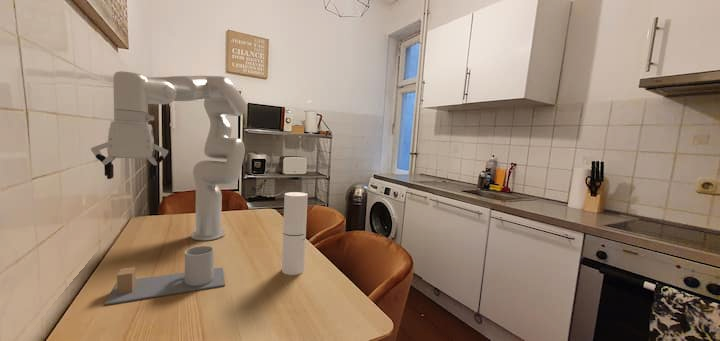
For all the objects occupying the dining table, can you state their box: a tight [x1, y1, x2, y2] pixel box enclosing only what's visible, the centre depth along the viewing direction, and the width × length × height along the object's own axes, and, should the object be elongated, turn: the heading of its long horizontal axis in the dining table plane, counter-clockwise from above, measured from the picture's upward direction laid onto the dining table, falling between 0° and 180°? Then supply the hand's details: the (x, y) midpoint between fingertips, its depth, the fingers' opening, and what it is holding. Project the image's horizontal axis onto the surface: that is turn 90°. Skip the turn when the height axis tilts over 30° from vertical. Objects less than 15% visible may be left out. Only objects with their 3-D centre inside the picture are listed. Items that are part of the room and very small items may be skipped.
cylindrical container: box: [281, 191, 308, 276], centre depth 93 cm, size 7×7×25 cm
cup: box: [184, 245, 215, 287], centre depth 83 cm, size 7×10×9 cm
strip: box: [104, 266, 226, 306], centre depth 80 cm, size 12×26×5 cm, turn 118°
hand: (132, 178), depth 83 cm, fingers open, 9 cm apart
